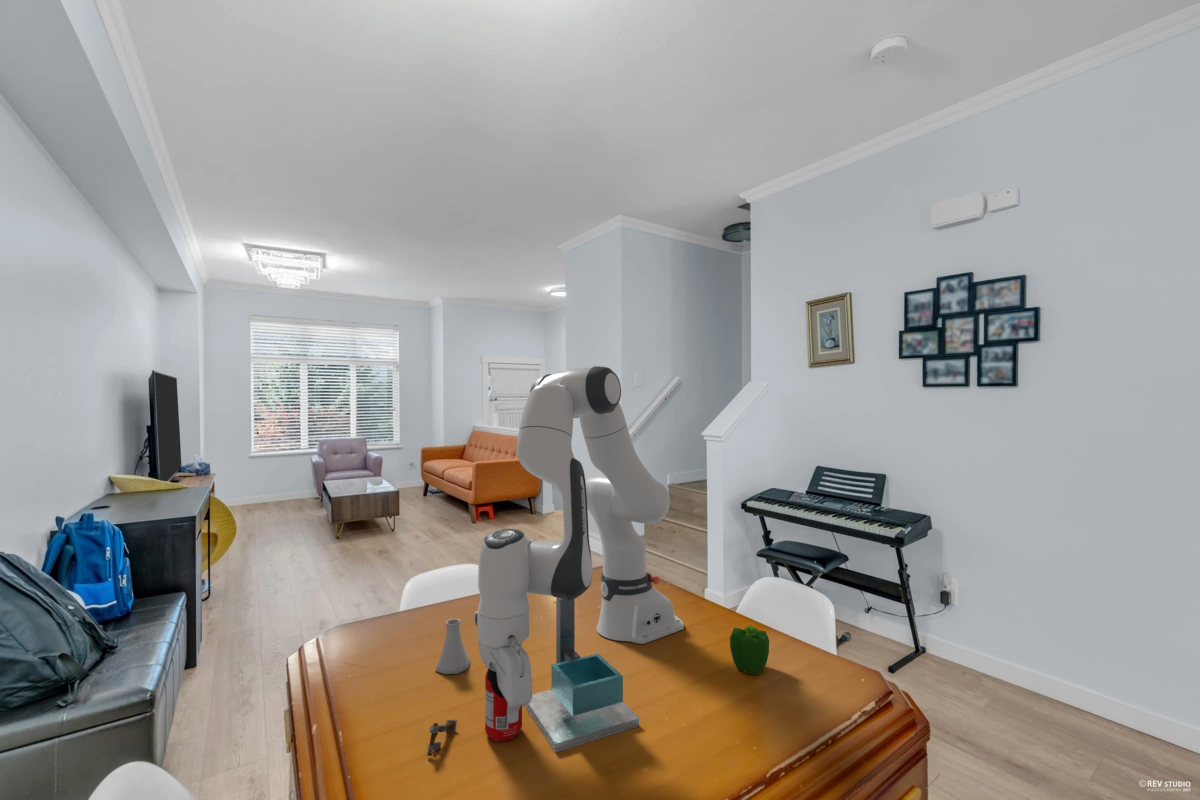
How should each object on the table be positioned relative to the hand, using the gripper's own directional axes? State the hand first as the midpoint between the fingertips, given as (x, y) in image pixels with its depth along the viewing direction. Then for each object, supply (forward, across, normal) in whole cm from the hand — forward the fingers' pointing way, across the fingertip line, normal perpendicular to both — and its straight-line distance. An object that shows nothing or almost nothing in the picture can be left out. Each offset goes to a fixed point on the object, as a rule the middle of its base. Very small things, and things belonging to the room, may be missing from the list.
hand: (503, 706), depth 92 cm
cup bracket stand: (+5, -1, -14) cm, 15 cm away
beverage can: (+5, 0, 0) cm, 5 cm away
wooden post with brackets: (+5, +2, +10) cm, 11 cm away
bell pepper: (+5, -2, -54) cm, 54 cm away
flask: (+5, +28, +3) cm, 29 cm away
